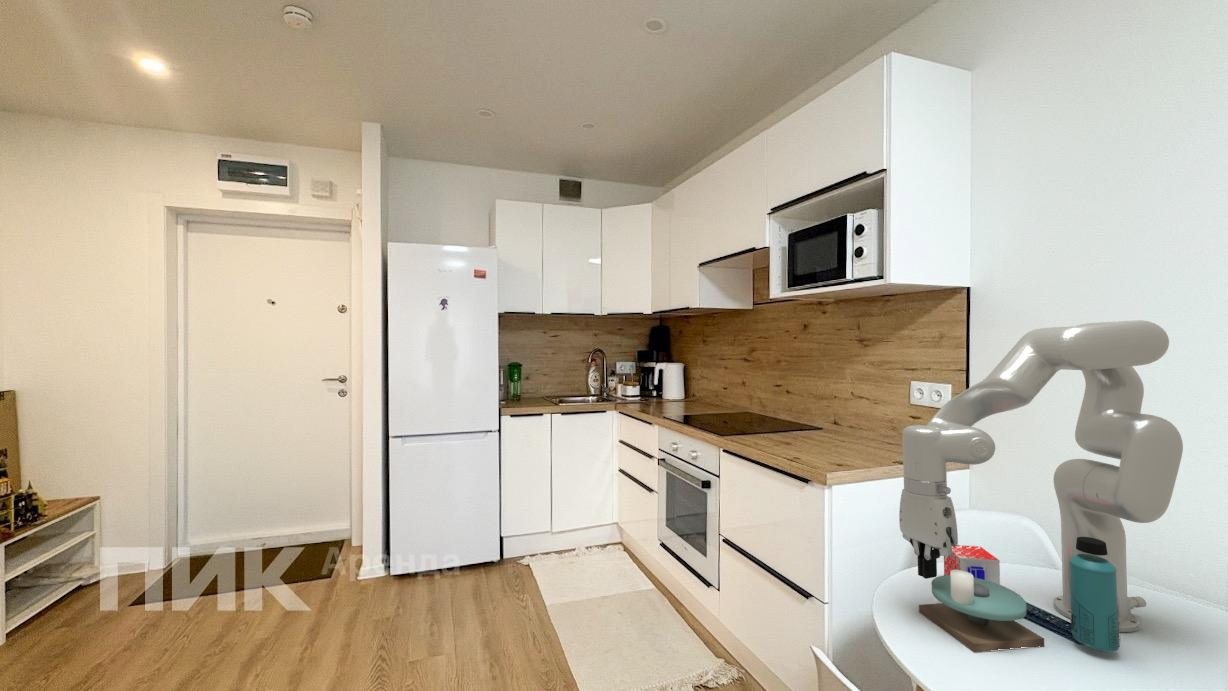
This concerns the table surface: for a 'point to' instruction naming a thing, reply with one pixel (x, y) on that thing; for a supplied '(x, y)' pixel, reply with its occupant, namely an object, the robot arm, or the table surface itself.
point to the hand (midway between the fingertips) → (927, 575)
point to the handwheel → (978, 597)
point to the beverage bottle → (1094, 597)
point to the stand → (980, 629)
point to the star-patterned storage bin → (973, 563)
